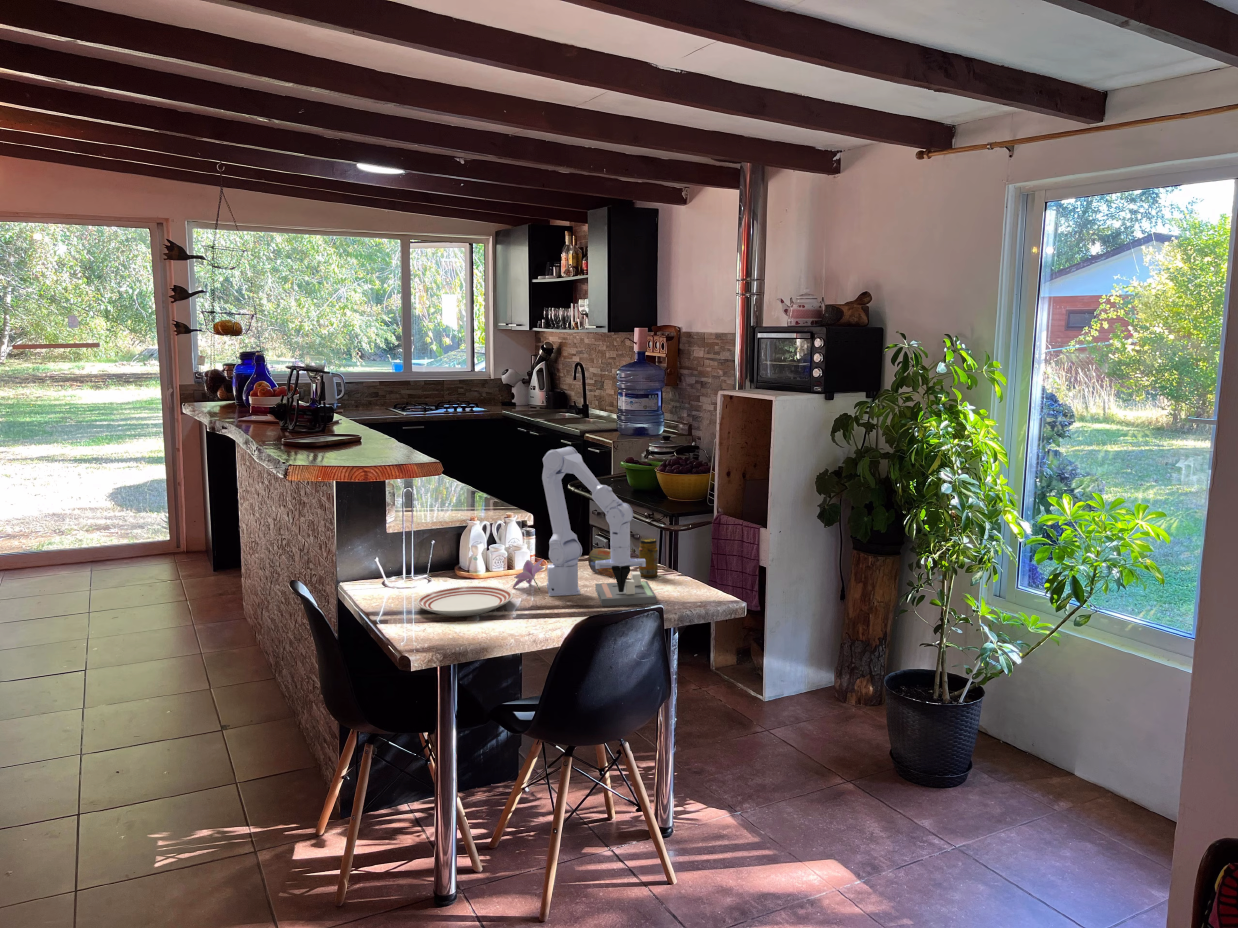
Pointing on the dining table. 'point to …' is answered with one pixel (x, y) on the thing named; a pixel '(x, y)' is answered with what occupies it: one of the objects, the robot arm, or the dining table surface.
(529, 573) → the lily
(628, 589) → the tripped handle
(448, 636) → the dining table surface
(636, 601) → the grey board
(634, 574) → the handle
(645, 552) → the condiment
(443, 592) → the dinner plate
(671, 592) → the dining table surface
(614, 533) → the robot arm
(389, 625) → the dining table surface
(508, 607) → the dining table surface
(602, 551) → the tin
